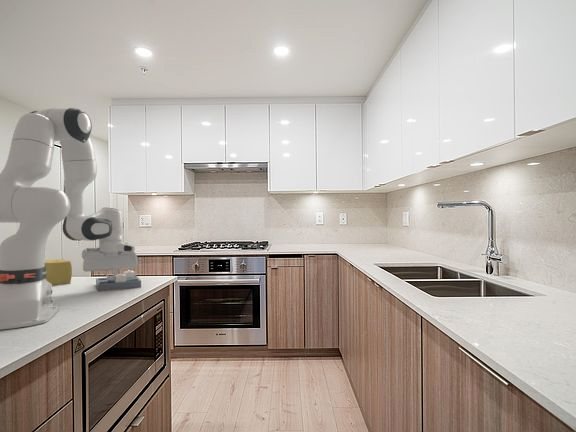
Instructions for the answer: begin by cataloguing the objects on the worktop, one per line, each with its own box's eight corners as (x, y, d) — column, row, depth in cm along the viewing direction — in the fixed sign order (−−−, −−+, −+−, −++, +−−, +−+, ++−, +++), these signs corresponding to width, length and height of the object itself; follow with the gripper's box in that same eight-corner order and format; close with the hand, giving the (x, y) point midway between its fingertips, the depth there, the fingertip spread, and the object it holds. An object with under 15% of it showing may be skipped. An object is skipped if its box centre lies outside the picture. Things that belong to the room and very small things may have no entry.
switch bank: (141, 287, 147) (141, 280, 147) (97, 291, 139) (97, 284, 139) (136, 281, 159) (136, 275, 159) (96, 284, 151) (96, 278, 151)
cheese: (36, 283, 153) (36, 260, 153) (64, 280, 161) (64, 258, 161) (43, 287, 146) (43, 263, 146) (72, 283, 154) (72, 260, 154)
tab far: (134, 279, 155) (134, 270, 155) (124, 280, 153) (124, 271, 153) (133, 278, 158) (133, 269, 158) (123, 279, 155) (123, 270, 155)
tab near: (126, 284, 146) (126, 274, 146) (115, 284, 144) (115, 275, 144) (125, 282, 149) (125, 272, 148) (114, 283, 146) (114, 273, 146)
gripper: (82, 249, 136) (81, 284, 136) (138, 246, 147) (138, 279, 147) (81, 247, 141) (81, 281, 142) (136, 245, 152) (136, 277, 152)
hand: (111, 280), depth 144 cm, fingers closed
